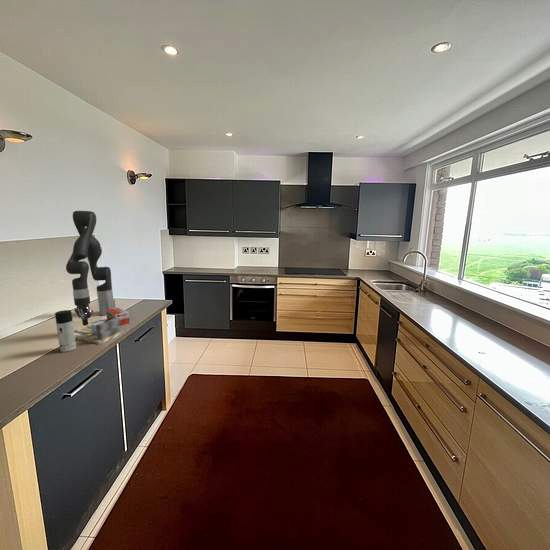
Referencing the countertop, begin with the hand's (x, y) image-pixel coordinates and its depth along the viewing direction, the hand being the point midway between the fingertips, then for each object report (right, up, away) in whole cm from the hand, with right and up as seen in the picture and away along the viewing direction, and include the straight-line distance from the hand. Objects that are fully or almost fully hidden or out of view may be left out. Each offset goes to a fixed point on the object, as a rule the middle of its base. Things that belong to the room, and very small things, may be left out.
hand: (85, 325), depth 167 cm
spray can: (+4, -9, -20) cm, 22 cm away
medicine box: (+9, -2, +19) cm, 21 cm away
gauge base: (+7, -5, -2) cm, 9 cm away
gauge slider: (+11, -5, -6) cm, 13 cm away
